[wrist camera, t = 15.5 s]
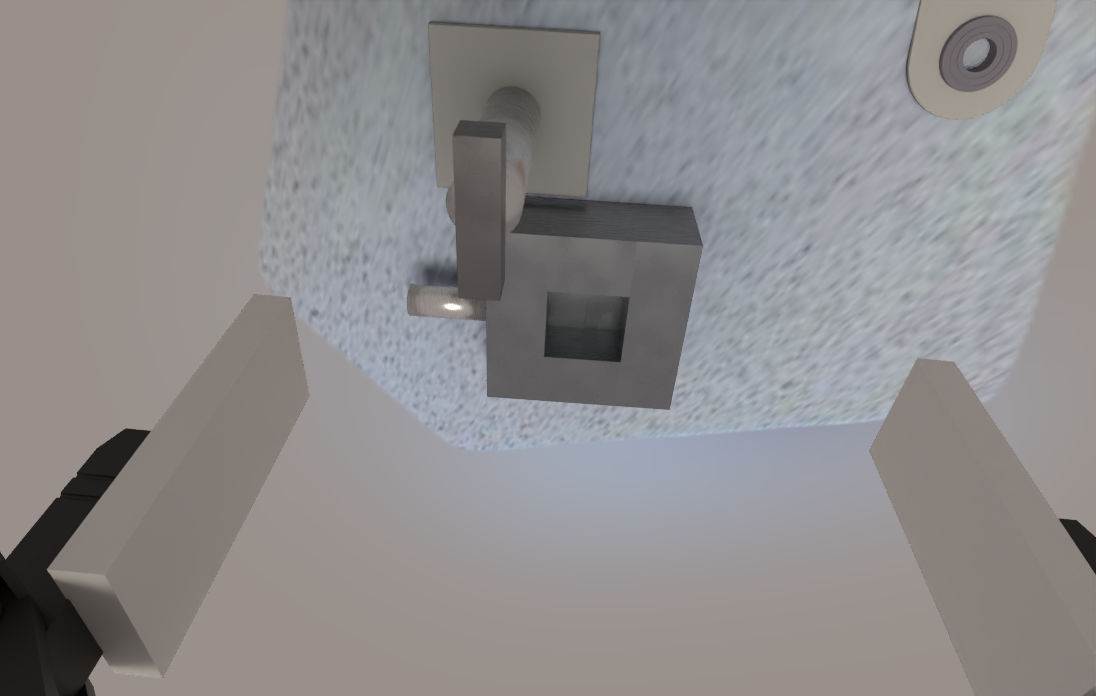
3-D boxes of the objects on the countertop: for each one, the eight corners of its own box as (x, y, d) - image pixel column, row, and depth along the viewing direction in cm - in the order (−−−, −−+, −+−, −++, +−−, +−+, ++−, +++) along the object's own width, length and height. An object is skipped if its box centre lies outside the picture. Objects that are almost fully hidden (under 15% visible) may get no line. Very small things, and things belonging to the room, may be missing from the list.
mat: (430, 22, 36) (428, 24, 35) (599, 32, 36) (600, 34, 35) (438, 183, 41) (437, 187, 41) (586, 192, 41) (586, 196, 40)
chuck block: (415, 189, 41) (395, 225, 37) (692, 207, 41) (702, 245, 37) (426, 346, 48) (411, 391, 44) (663, 363, 48) (669, 409, 44)
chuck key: (538, 177, 40) (516, 302, 29) (484, 173, 40) (441, 297, 29) (543, 51, 36) (520, 139, 25) (483, 47, 36) (433, 134, 25)
